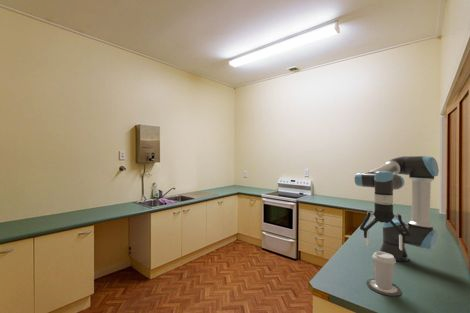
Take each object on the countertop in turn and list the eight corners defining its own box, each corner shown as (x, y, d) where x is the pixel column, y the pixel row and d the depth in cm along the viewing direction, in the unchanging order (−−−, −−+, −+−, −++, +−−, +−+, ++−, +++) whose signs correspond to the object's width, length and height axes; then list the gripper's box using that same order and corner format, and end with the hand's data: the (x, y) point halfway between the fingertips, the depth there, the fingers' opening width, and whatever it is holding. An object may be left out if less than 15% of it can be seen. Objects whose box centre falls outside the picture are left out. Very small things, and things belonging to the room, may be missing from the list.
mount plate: (365, 277, 119) (365, 275, 119) (397, 284, 113) (397, 282, 113) (368, 291, 106) (368, 289, 106) (404, 299, 100) (404, 297, 100)
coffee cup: (385, 280, 114) (386, 250, 114) (400, 291, 105) (401, 259, 105) (367, 280, 114) (368, 250, 114) (380, 291, 104) (381, 259, 104)
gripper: (355, 202, 112) (355, 245, 112) (417, 207, 101) (418, 254, 101) (354, 199, 119) (354, 240, 118) (413, 204, 108) (413, 248, 108)
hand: (383, 246), depth 110 cm, fingers open, 13 cm apart
